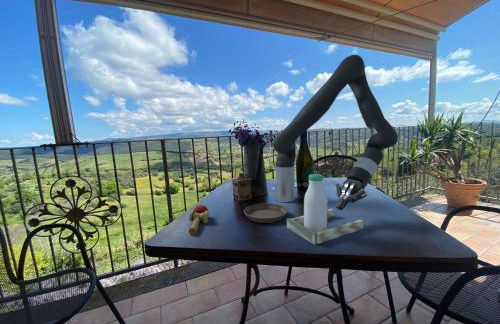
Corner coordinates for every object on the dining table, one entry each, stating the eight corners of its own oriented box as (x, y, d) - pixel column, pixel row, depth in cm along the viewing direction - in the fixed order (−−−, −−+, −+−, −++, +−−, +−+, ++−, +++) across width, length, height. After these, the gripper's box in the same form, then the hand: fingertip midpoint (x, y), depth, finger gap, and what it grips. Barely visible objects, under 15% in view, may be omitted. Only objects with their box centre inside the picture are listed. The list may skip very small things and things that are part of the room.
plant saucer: (255, 207, 106) (255, 201, 105) (292, 212, 98) (292, 205, 97) (236, 221, 90) (236, 214, 90) (278, 228, 82) (278, 220, 82)
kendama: (206, 237, 80) (213, 212, 97) (201, 222, 78) (209, 199, 95) (185, 242, 80) (195, 216, 97) (180, 227, 78) (191, 203, 96)
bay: (331, 215, 92) (331, 207, 91) (363, 228, 79) (363, 219, 79) (286, 227, 82) (286, 218, 82) (314, 244, 69) (314, 234, 69)
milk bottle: (325, 239, 73) (326, 177, 70) (301, 235, 76) (301, 176, 73) (329, 229, 80) (329, 173, 77) (306, 226, 83) (306, 172, 80)
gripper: (343, 163, 91) (319, 198, 87) (374, 168, 79) (348, 208, 76) (352, 175, 94) (329, 209, 90) (383, 181, 82) (359, 220, 79)
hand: (338, 208), depth 83 cm, fingers closed
